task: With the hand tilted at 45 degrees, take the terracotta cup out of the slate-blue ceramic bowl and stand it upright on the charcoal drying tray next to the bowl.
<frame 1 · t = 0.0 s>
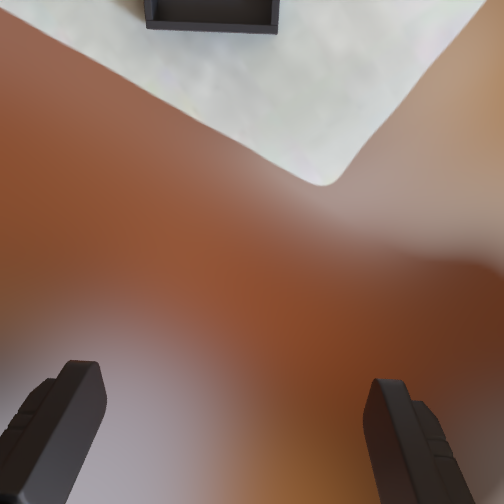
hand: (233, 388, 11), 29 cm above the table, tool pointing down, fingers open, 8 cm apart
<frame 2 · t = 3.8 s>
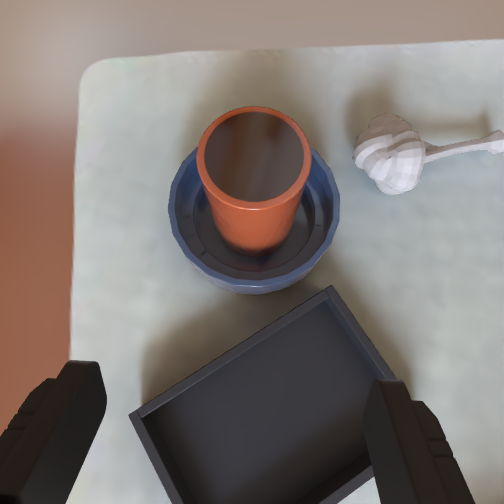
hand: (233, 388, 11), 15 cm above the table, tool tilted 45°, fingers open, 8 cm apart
tray: (277, 416, 24), on the table
bowl: (254, 222, 28), on the table
cup: (254, 219, 28), resting on bowl
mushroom: (417, 160, 29), on the table
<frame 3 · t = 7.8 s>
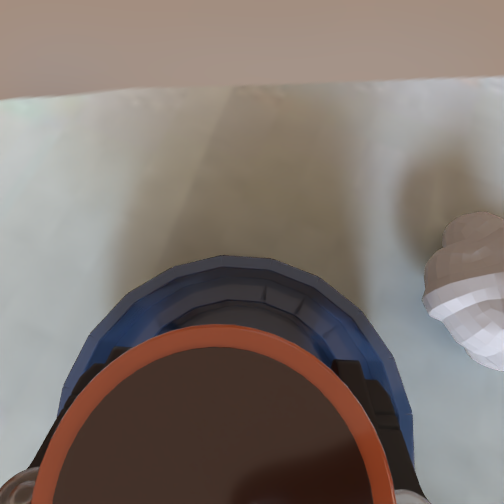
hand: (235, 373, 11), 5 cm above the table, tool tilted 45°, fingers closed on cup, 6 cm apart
bowl: (238, 409, 15), on the table
cup: (237, 411, 15), point 1 cm above the table, touching bowl, gripper
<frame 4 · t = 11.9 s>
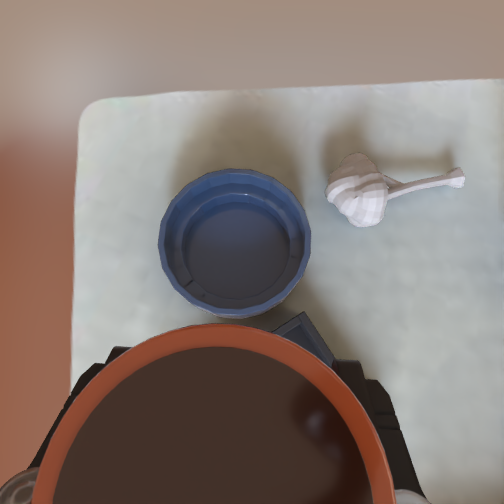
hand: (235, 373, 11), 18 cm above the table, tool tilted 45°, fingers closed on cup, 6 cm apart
tray: (255, 428, 27), on the table
bowl: (237, 251, 31), on the table
cup: (237, 411, 15), point 14 cm above the table, touching gripper
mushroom: (386, 193, 32), on the table
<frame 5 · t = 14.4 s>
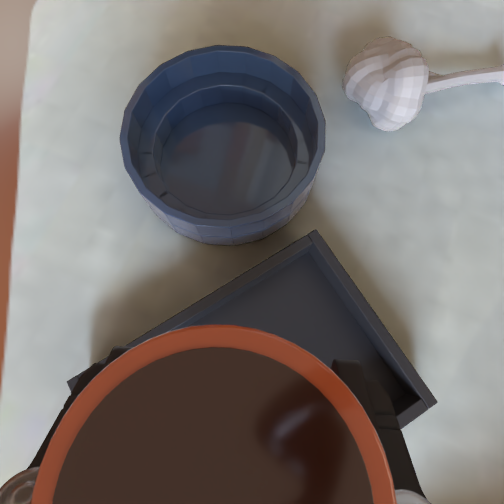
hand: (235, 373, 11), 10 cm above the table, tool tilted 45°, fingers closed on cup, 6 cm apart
tray: (250, 386, 21), on the table
bowl: (228, 164, 24), on the table
cup: (237, 411, 15), point 6 cm above the table, touching gripper
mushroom: (418, 96, 25), on the table
when the fingers open (5 cm above the table, at t = 16.5 s): cup stays where it is, resting on tray.
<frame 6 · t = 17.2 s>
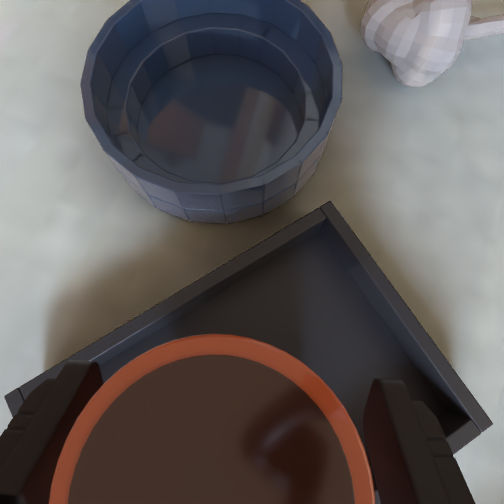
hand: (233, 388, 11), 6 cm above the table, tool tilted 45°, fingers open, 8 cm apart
tray: (247, 400, 16), on the table
bowl: (220, 127, 20), on the table
cup: (236, 412, 16), resting on tray
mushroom: (449, 49, 21), on the table
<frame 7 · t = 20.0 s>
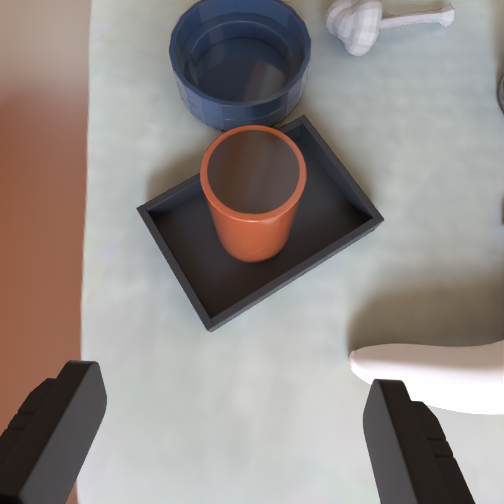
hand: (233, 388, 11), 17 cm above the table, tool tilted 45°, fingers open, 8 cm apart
tray: (259, 224, 30), on the table
banana: (457, 304, 28), on the table
bowl: (241, 80, 33), on the table
cup: (253, 227, 29), resting on tray
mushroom: (381, 34, 35), on the table
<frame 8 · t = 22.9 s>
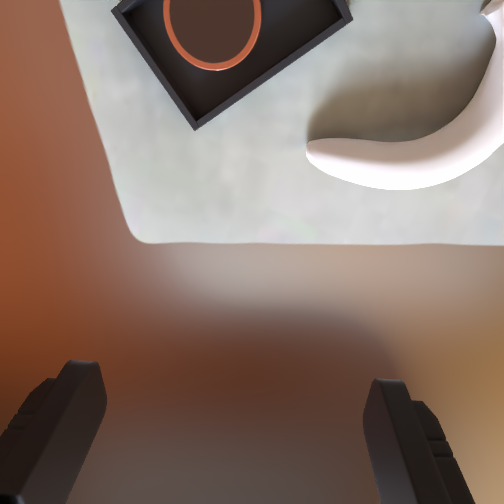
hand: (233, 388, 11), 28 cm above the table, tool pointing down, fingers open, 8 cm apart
tray: (234, 17, 30), on the table
banana: (407, 98, 33), on the table
cup: (227, 22, 30), resting on tray
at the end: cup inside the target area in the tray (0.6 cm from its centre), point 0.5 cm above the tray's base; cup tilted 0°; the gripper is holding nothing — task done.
